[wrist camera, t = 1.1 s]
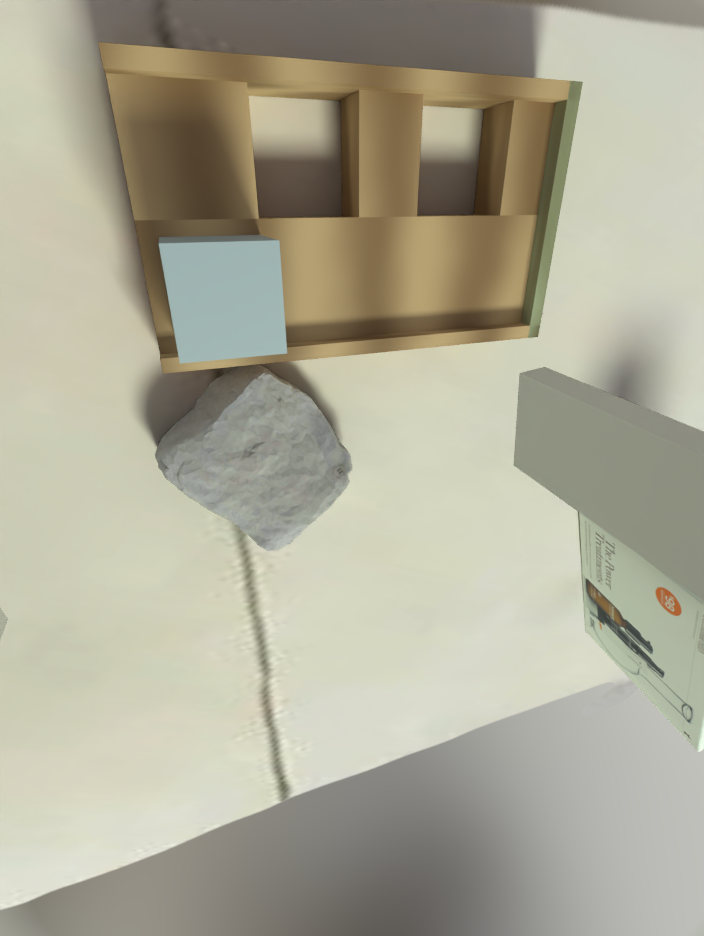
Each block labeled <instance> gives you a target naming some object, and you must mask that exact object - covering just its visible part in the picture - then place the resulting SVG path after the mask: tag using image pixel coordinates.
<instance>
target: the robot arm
mask: <svg viewBox="0 0 704 936" xmlns="http://www.w3.org/2000/svg"><path fill="white" fill-rule="evenodd" d="M514 466H516V467H517V468H518V469H520V470H521V471H522V472H524V473H525V474H527V475H528V476H529V477H531V478H532V479H534V480H535V481H536V482H538V483H539V484H541V485H542V486H543V487H545V488H546V489H548V490H549V491H550V492H552V493H553V494H555V495H556V496H557V497H559V498H560V499H562V500H563V501H564V502H566V503H567V504H569V505H570V506H571V507H573V508H574V509H576V510H577V511H578V512H580V513H581V514H583V515H584V516H585V517H587V518H588V519H590V520H591V521H592V522H594V523H595V524H596V525H598V526H599V527H601V528H602V529H603V530H605V531H606V532H608V533H609V534H610V535H612V536H613V537H615V538H616V539H617V540H619V541H620V542H622V543H623V544H624V545H626V546H627V547H629V548H630V549H631V550H633V551H634V552H636V553H637V554H638V555H640V556H641V557H643V558H644V559H645V560H647V561H648V562H650V563H651V564H652V565H654V566H655V567H657V568H658V569H659V570H661V571H662V572H664V573H665V574H666V575H668V576H669V577H670V578H672V579H673V580H675V581H676V582H677V583H679V584H680V585H682V586H683V587H684V588H686V589H687V590H689V591H690V592H691V593H693V594H694V595H696V596H697V597H698V598H700V599H701V600H703V601H704V432H703V431H701V430H698V429H696V428H693V427H691V426H688V425H686V424H684V423H681V422H679V421H676V420H674V419H671V418H669V417H666V416H664V415H661V414H659V413H656V412H654V411H652V410H649V409H647V408H644V407H642V406H639V405H637V404H634V403H632V402H629V401H627V400H625V399H622V398H620V397H617V396H615V395H612V394H610V393H607V392H605V391H602V390H600V389H598V388H595V387H593V386H590V385H588V384H585V383H583V382H580V381H578V380H575V379H573V378H570V377H568V376H566V375H563V374H561V373H558V372H556V371H553V370H551V369H548V368H546V367H543V368H539V369H535V370H531V371H527V372H523V373H520V376H519V392H518V407H517V422H516V438H515V453H514ZM7 620H8V619H7V617H6V616H5V614H4V613H3V611H2V610H1V608H0V639H1V636H2V634H3V631H4V628H5V625H6V623H7Z"/></svg>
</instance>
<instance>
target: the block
mask: <svg viewBox="0 0 704 936" xmlns="http://www.w3.org/2000/svg"><path fill="white" fill-rule="evenodd" d="M159 249H160V254H161V260H162V265H163V271H164V277H165V282H166V288H167V294H168V299H169V305H170V311H171V316H172V322H173V328H174V333H175V339H176V345H177V350H178V356H179V361H180V363H191V362H202V361H212V360H223V359H234V358H244V357H255V356H266V355H276V354H287V343H286V329H285V314H284V300H283V285H282V271H281V257H280V242H279V240H276V239H273V238H270V237H266V236H263V235H229V236H185V237H159Z"/></svg>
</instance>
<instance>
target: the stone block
mask: <svg viewBox="0 0 704 936" xmlns="http://www.w3.org/2000/svg"><path fill="white" fill-rule="evenodd" d="M155 457H156V459H157V462H158V464H159V465H158V467H159V469H160V470H161V471H162V472H163V474H164V476H165V478H166V479H167V480H169V481H170V482H171V483H172V484H174V485H175V486H176V487H177V488H178V489H179V490H181V491H182V492H183V493H184V494H185V495H187V496H188V497H190V498H191V499H193V500H194V501H196V502H198V503H199V504H201V505H202V506H203V507H205V508H207V509H208V510H210V511H212V512H213V513H215V514H217V515H219V516H222V517H224V518H225V519H227V520H229V521H230V522H232V523H233V524H235V525H236V526H238V527H239V528H240V529H241V530H242V531H244V532H245V533H247V534H248V535H249V536H250V537H251V538H252V539H253V540H254V541H255V542H256V543H257V544H258V545H259V546H260V547H262V548H264V549H265V550H267V551H276V550H279V549H281V548H283V547H284V546H286V545H288V544H290V543H291V542H293V540H294V539H295V538H296V537H298V536H299V535H300V534H301V533H302V531H303V530H304V529H306V528H307V527H308V526H309V525H310V524H311V523H312V522H313V521H315V520H316V519H317V518H318V517H319V516H320V515H321V514H323V513H324V512H325V511H326V510H327V509H328V508H329V507H330V506H331V505H332V504H333V503H334V502H335V500H336V499H337V498H338V497H339V496H340V495H341V494H342V493H343V491H344V490H345V488H346V487H347V485H348V484H349V478H348V474H349V473H350V472H351V471H352V464H351V456H350V454H349V452H348V451H347V450H346V448H345V447H344V446H343V445H342V444H341V443H340V442H339V440H338V438H337V437H336V435H335V434H334V431H333V428H332V426H331V425H330V424H329V423H328V421H327V419H326V417H325V416H324V415H323V413H322V412H321V410H320V409H319V408H318V407H317V405H316V404H315V403H314V401H313V400H312V399H311V397H310V396H309V395H308V394H306V393H304V392H302V391H300V390H299V389H298V388H297V387H296V386H294V385H293V384H292V383H290V382H288V381H286V380H283V379H281V378H279V377H277V376H276V375H274V374H273V373H272V372H271V371H270V370H268V369H267V368H266V367H265V366H262V365H260V364H256V365H246V366H236V367H233V368H232V369H231V370H230V371H228V372H226V373H225V374H223V375H221V376H219V377H217V378H216V379H215V380H214V381H212V382H211V383H210V384H209V386H208V387H207V388H206V390H205V391H204V393H203V394H202V395H201V397H200V398H198V399H197V401H196V403H195V406H194V408H193V409H192V410H191V411H189V412H188V414H186V415H185V416H183V417H182V418H181V419H180V420H178V421H177V422H176V423H175V424H174V425H173V426H172V427H171V428H170V429H169V430H168V432H167V433H166V434H165V435H164V436H163V437H162V438H161V441H160V442H159V444H158V447H157V450H156V453H155Z"/></svg>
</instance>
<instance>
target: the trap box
mask: <svg viewBox="0 0 704 936" xmlns="http://www.w3.org/2000/svg"><path fill="white" fill-rule="evenodd" d="M98 44H99V49H100V54H101V59H102V64H103V68H104V71H105V73H106V78H107V83H108V88H109V93H110V98H111V104H112V109H113V114H114V119H115V124H116V129H117V134H118V139H119V145H120V150H121V155H122V160H123V165H124V170H125V175H126V181H127V186H128V191H129V196H130V201H131V206H132V211H133V216H134V222H135V227H136V232H137V237H138V242H139V247H140V252H141V258H142V263H143V268H144V273H145V278H146V283H147V288H148V294H149V299H150V304H151V309H152V314H153V319H154V324H155V329H156V335H157V340H158V345H159V350H160V360H161V365H162V370H163V374H165V373H175V372H185V371H195V370H205V369H216V368H226V367H236V366H246V365H256V364H266V363H276V362H287V361H297V360H307V359H317V358H327V357H337V356H348V355H358V354H368V353H378V352H388V351H398V350H409V349H419V348H429V347H439V346H449V345H459V344H470V343H480V342H490V341H500V340H510V339H520V338H531V337H538V333H539V328H540V322H541V316H542V311H543V305H544V299H545V293H546V288H547V282H548V276H549V271H550V265H551V259H552V254H553V248H554V242H555V237H556V231H557V225H558V219H559V214H560V208H561V202H562V197H563V191H564V185H565V180H566V174H567V168H568V162H569V157H570V151H571V145H572V140H573V134H574V128H575V123H576V117H577V111H578V106H579V100H580V94H581V88H582V83H583V82H577V81H565V80H553V79H541V78H528V77H516V76H504V75H492V74H480V73H468V72H455V71H443V70H431V69H419V68H407V67H394V66H382V65H370V64H358V63H346V62H334V61H321V60H309V59H297V58H285V57H273V56H260V55H248V54H236V53H224V52H212V51H199V50H187V49H175V48H163V47H151V46H139V45H126V44H114V43H102V42H98ZM248 95H250V96H267V97H284V98H301V99H318V100H336V101H341V162H342V216H337V217H259V215H258V203H257V191H256V180H255V168H254V156H253V145H252V133H251V121H250V110H249V98H248ZM423 106H438V107H456V108H473V109H484V114H483V124H482V134H481V144H480V154H479V164H478V174H477V184H476V194H475V203H474V213H473V215H417V206H418V187H419V168H420V148H421V129H422V110H423ZM229 235H263V236H266V237H270V238H273V239H276V240H279V242H280V257H281V271H282V285H283V300H284V314H285V329H286V343H287V354H276V355H266V356H255V357H244V358H234V359H223V360H212V361H202V362H191V363H180V361H179V356H178V350H177V345H176V339H175V333H174V328H173V322H172V316H171V311H170V305H169V299H168V294H167V288H166V282H165V277H164V271H163V265H162V260H161V254H160V249H159V237H185V236H229Z"/></svg>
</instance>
